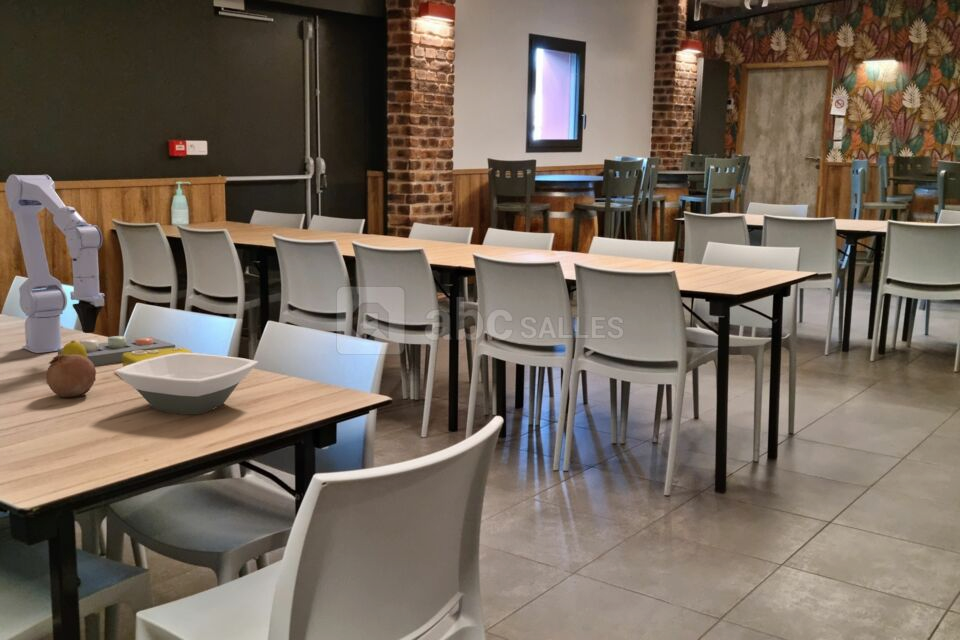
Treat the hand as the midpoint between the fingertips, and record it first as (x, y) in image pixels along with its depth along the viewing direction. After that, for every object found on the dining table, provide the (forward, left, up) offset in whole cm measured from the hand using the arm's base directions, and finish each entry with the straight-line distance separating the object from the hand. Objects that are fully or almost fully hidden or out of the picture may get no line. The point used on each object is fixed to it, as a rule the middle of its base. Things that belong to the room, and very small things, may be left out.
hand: (88, 332), depth 230 cm
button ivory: (0, 0, -5) cm, 5 cm away
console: (0, +7, -7) cm, 10 cm away
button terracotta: (0, +14, -6) cm, 15 cm away
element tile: (+22, +8, -8) cm, 24 cm away
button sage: (0, +7, -5) cm, 8 cm away
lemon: (+13, -9, -7) cm, 17 cm away
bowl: (+54, -3, -7) cm, 54 cm away
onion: (+31, -17, -7) cm, 36 cm away
